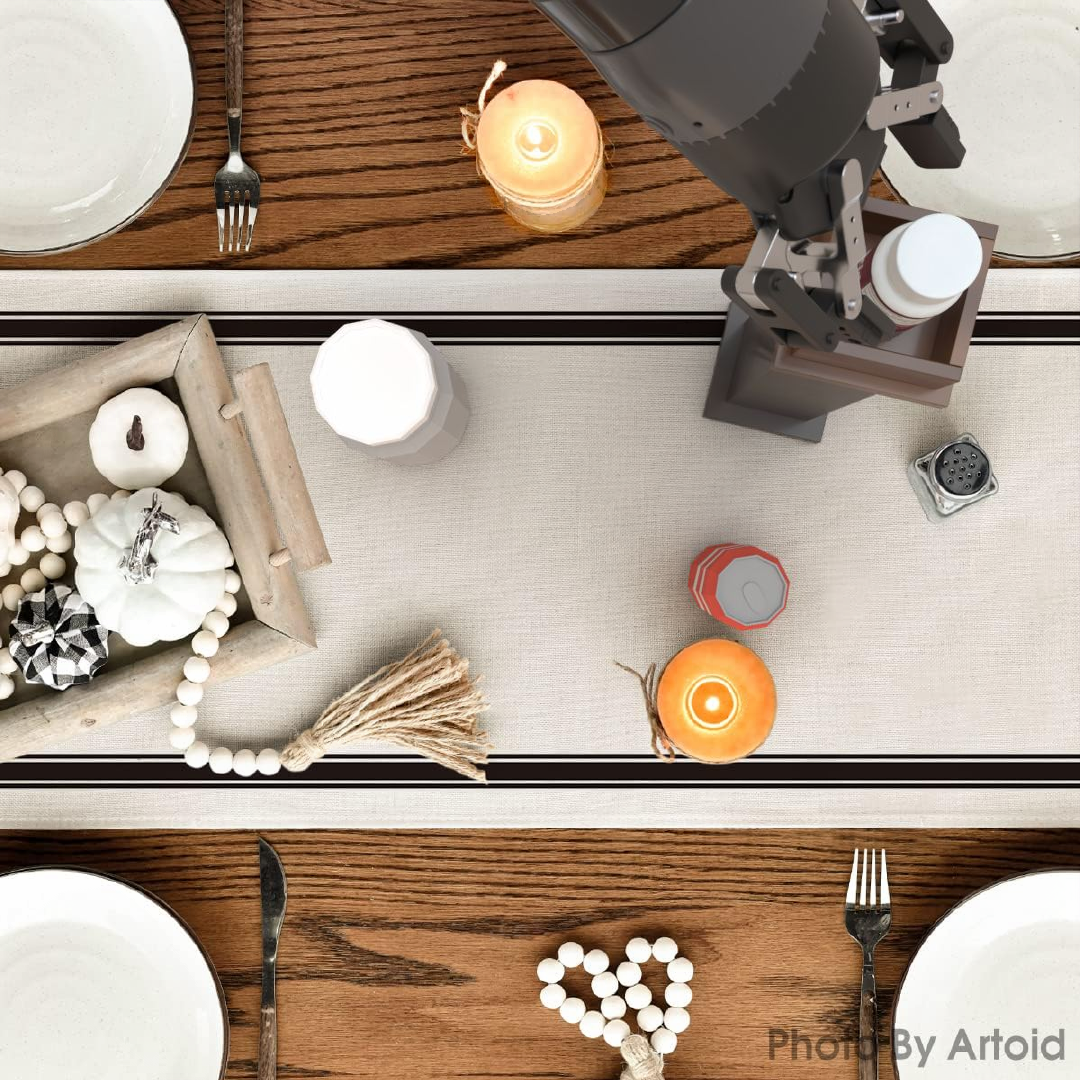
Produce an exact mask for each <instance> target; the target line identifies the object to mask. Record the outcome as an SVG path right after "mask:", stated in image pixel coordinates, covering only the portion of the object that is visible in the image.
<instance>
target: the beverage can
mask: <svg viewBox="0 0 1080 1080" xmlns="http://www.w3.org/2000/svg"><path fill="white" fill-rule="evenodd" d="M790 583H791V581H790V579H789V577H788V575H787V573H786V572H785V569H784V568H783V565H782V563H781V561H780V560H779V558H778V557H776V556H775V555H772V554H770V553H769V552H766V551H764V550H762V549H760V548H759V547H756V546H754V545H749V544H748V545H747V544H742V543H736V542H726V543H719V544H713V545H708V546H706V547H705V548H704V549H703V550H702V551H701V552H700V553H699V554H698V555H697V556H696V557H695V558H694V559H693V560H692V561H691V562H690V567H689V574H688V580H687V589H689V592H690V594H691V596H692V597H693V600H694V601H695V603H696V605H697V607H699V608H700V610H703V611H704V612H705V613H707V614H708V615H710V616H711V617H713V618H714V619H716V620H718V621H719V622H722V623H724V624H726V625H727V626H730V627H731V628H733V629H735V630H737V631H739V632H743V631H744V632H745V631H750V630H755V629H756V630H757V629H761V628H767V627H769V626H770V625H771V624H772V623H773V622H774V621H775V620H776V619H777V618H778V616H779V615H781V613H782V612H784V610H786V608H787V605H788V604H787V603H788V597H789V590H790Z"/></svg>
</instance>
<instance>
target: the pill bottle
mask: <svg viewBox="0 0 1080 1080" xmlns="http://www.w3.org/2000/svg"><path fill="white" fill-rule="evenodd" d="M957 216H958V215H954V214H950V213H945V212H941V213H936V214H930V215H927V216H924V217H922V218H920V219H918V220H916V221H913V222H909V223H906V224H904V225H901V226H899V227H897V228H895V229H894V230H892V231H891V232H890V233H889V234H887V235H886V236H884V237H883V239H881V240H880V241H879V242H878V243H877V244H876V245H875V246H873V247H872V248H871V249H870V250H869V251H868V252H867V253H866V256H865V258H864V259H863V260H862V261H861V262H859V263H858V273H859V281H860V288H861V294H862V295H866V296H867V297H869V298H870V299H871V300H872V301H873V302H874V303H875V304H876V305H877V306H878V307H879V308H880V309H881V310H882V311H883V312H884V313H885V314H886V315H887V316H888V317H889V318H890V319H891V320H892V321H893V322H894V323H895V324H896V325H897V327H896V330H895V332H894V335H893V337H894V336H897V335H900V334H902V333H904V332H906V331H908V330H909V329H911V328H913V327H915V326H918V325H919V324H921V323H923V322H925V321H927V320H929V319H931V318H932V317H934V316H936V315H939V314H941V313H942V312H944V311H945V310H947V309H948V308H949V307H951V306H952V305H953V304H954V303H955V302H956V301H957V300H958V299H959V297H960V296H961V294H962V293H963V291H964V290H965V289H967V288H968V287H969V286H970V285H971V284H972V283H973V281H974V280H975V278H976V277H977V275H978V273H979V270H980V267H981V264H982V246H981V242H980V240H979V238H978V235H977V234H976V232H975V231H974V229H973V228H972V227H971V226H970V225H969V224H968V223H967V222H966V221H964V220H963V219H961V218H959V217H960V216H959V217H957Z"/></svg>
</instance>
